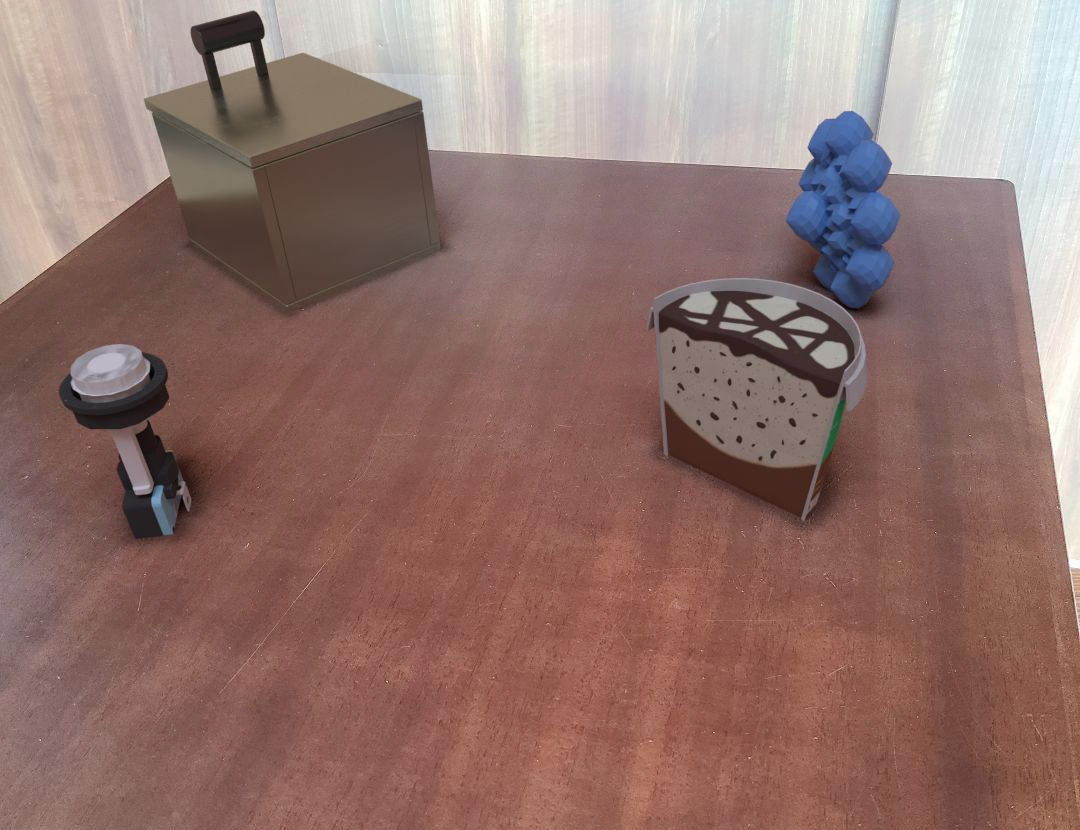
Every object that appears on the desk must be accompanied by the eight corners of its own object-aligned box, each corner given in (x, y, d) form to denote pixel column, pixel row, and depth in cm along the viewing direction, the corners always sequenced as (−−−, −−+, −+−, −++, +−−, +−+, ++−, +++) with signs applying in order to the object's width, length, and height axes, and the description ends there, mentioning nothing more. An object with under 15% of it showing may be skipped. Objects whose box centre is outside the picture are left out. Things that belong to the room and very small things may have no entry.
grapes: (747, 263, 77) (761, 97, 69) (833, 250, 78) (856, 84, 70) (809, 341, 68) (832, 162, 60) (905, 325, 69) (940, 147, 61)
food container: (887, 480, 57) (921, 320, 51) (828, 537, 54) (856, 375, 48) (706, 401, 64) (715, 251, 57) (643, 448, 61) (645, 295, 54)
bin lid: (146, 109, 78) (123, 35, 74) (305, 62, 84) (291, -8, 80) (252, 168, 68) (231, 86, 64) (423, 110, 74) (413, 32, 70)
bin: (192, 248, 84) (150, 112, 77) (336, 195, 91) (310, 65, 83) (288, 316, 75) (252, 169, 68) (442, 252, 81) (423, 111, 74)
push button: (130, 476, 62) (69, 328, 55) (220, 465, 62) (171, 317, 55) (109, 550, 57) (40, 398, 50) (207, 538, 57) (151, 385, 50)
